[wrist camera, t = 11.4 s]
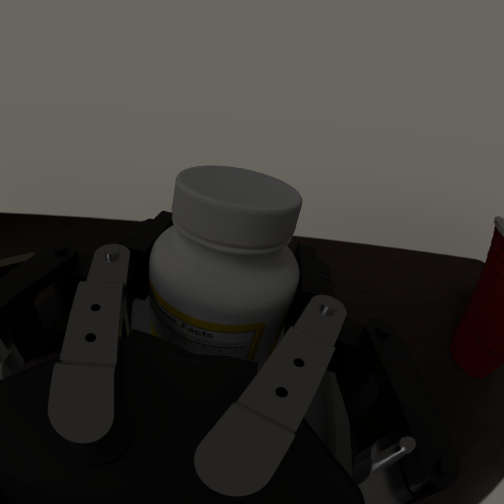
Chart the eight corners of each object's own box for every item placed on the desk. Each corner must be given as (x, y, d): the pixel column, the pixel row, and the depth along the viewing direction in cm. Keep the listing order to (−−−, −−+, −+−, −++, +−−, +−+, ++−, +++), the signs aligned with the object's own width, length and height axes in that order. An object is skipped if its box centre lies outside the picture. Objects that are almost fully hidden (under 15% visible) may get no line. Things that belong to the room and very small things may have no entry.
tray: (33, 432, 8) (19, 419, 7) (132, 276, 20) (131, 259, 19) (336, 513, 8) (353, 509, 7) (326, 323, 20) (334, 307, 19)
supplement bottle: (217, 322, 17) (252, 159, 12) (278, 385, 14) (358, 212, 9) (135, 352, 13) (130, 162, 8) (191, 436, 10) (221, 239, 5)
